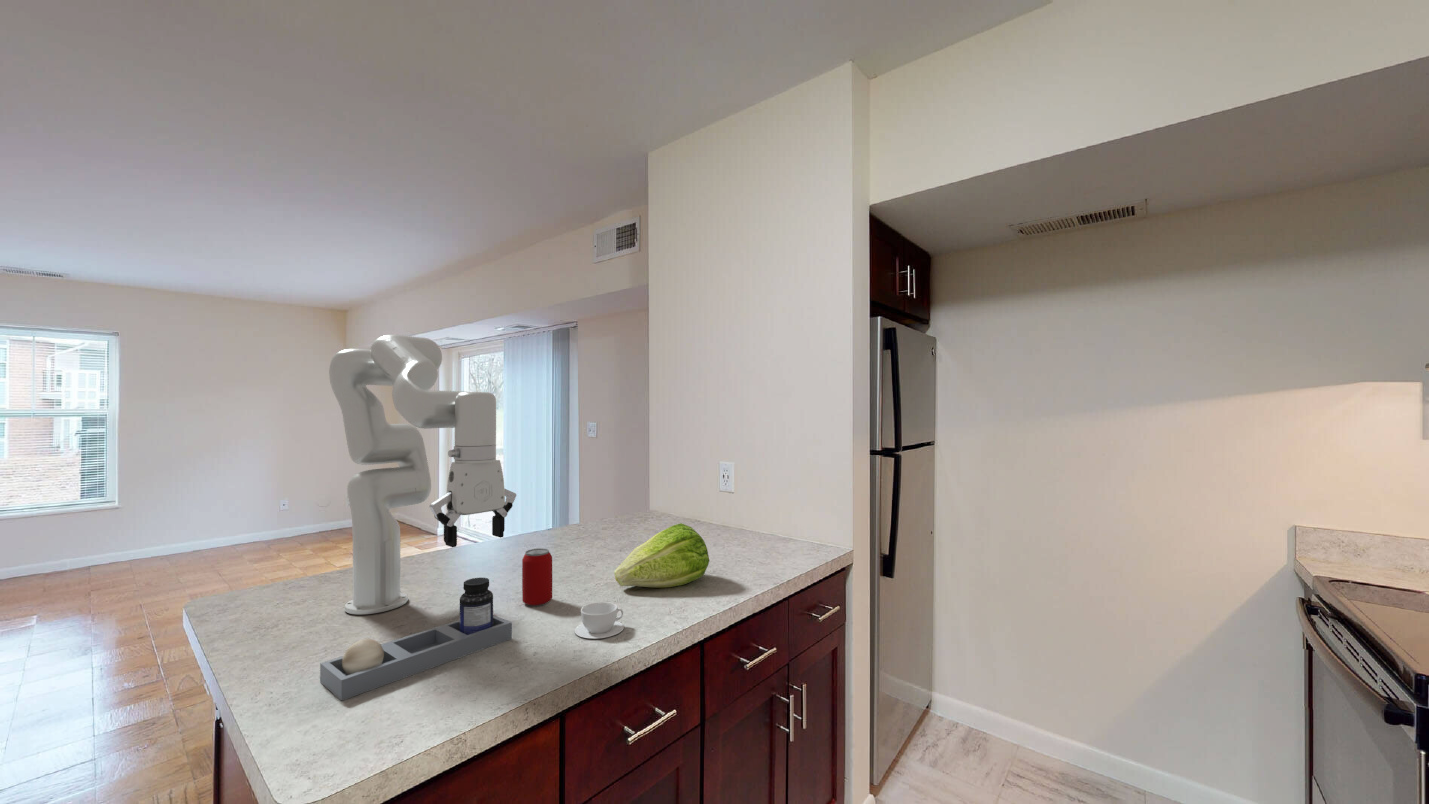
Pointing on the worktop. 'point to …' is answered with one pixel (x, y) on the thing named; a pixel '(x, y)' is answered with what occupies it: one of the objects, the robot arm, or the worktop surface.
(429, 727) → the worktop surface
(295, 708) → the worktop surface
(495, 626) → the well holder
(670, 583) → the lettuce
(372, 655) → the potato
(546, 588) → the beverage can
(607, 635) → the teacup
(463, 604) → the pill bottle
